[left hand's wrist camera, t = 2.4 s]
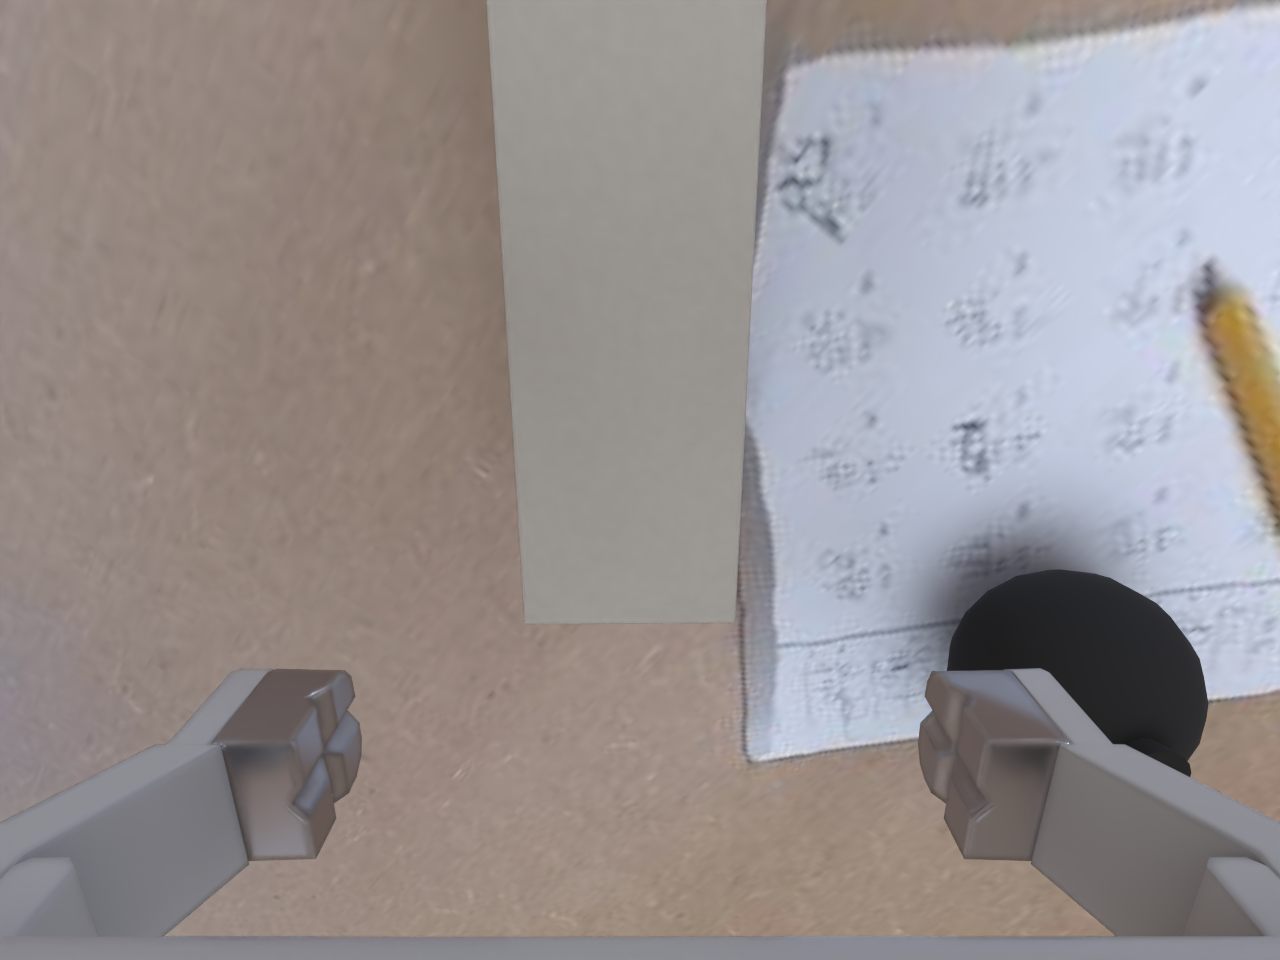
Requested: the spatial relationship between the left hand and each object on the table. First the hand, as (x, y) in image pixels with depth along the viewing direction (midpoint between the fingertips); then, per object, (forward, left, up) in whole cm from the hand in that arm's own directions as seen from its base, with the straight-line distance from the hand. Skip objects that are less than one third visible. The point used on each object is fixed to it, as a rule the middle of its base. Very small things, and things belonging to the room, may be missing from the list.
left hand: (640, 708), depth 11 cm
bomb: (0, -18, -18) cm, 25 cm away
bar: (+6, +4, -18) cm, 19 cm away
